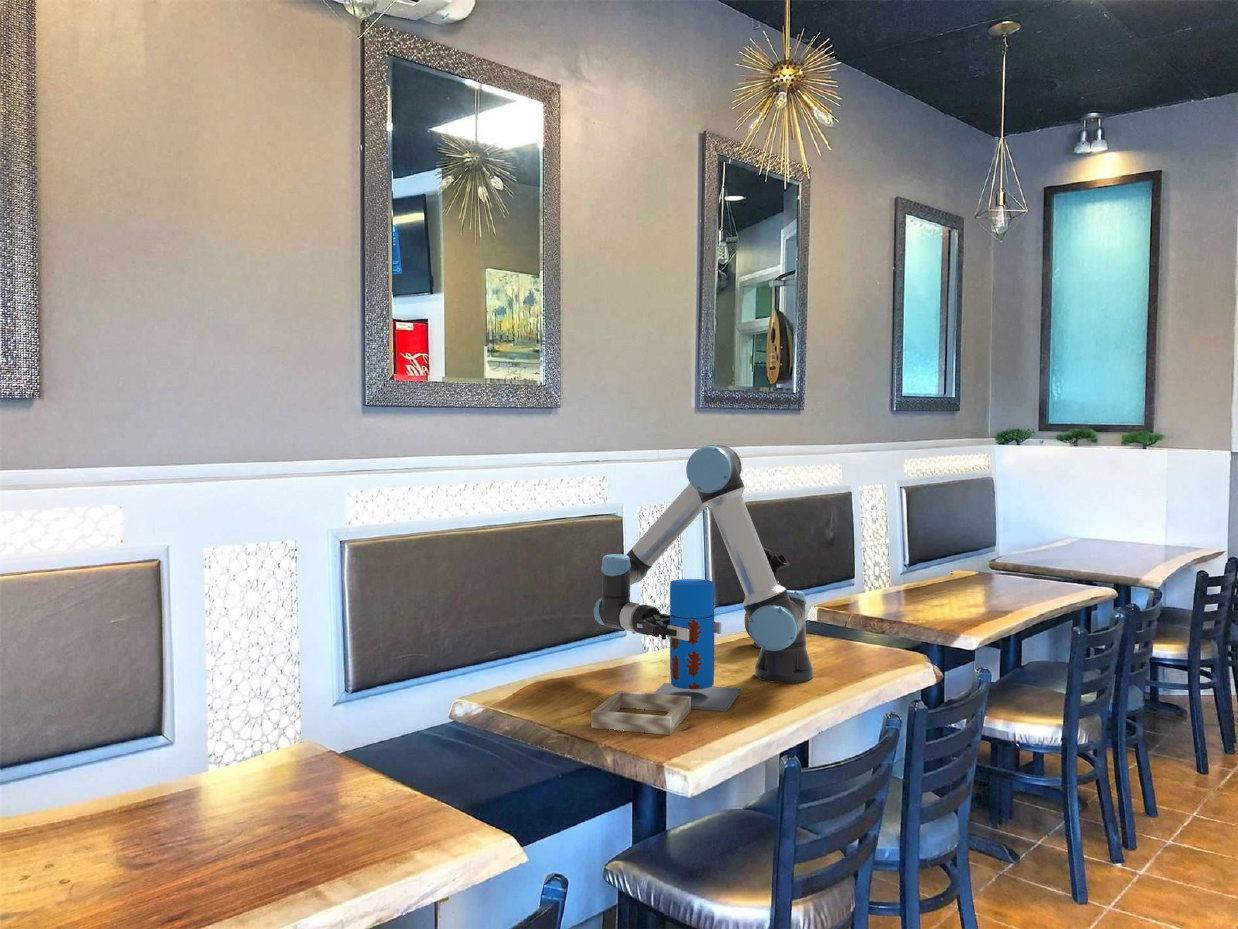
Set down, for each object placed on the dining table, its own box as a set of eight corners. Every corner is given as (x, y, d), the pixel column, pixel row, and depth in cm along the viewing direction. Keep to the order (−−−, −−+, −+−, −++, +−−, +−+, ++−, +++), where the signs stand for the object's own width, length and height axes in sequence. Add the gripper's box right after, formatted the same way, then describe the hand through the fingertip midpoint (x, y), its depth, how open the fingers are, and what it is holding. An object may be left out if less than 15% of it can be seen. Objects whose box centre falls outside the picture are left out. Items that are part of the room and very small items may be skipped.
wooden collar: (690, 711, 214) (690, 696, 214) (670, 734, 197) (670, 718, 197) (617, 705, 219) (617, 691, 219) (591, 727, 202) (591, 712, 202)
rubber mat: (741, 691, 230) (741, 688, 230) (726, 711, 213) (726, 708, 213) (664, 686, 236) (664, 683, 236) (644, 705, 219) (644, 701, 219)
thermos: (715, 689, 219) (715, 585, 219) (671, 689, 219) (670, 585, 219) (712, 678, 230) (712, 578, 230) (669, 678, 230) (669, 578, 230)
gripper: (672, 627, 246) (735, 639, 229) (607, 640, 230) (670, 654, 214) (672, 599, 245) (735, 609, 229) (607, 610, 230) (670, 622, 214)
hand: (704, 631), depth 221 cm, fingers closed on thermos, 11 cm apart
